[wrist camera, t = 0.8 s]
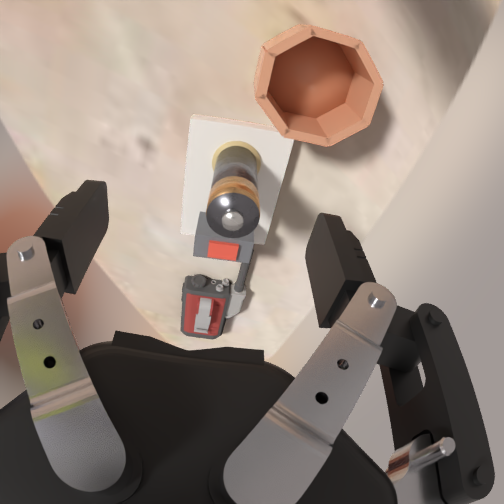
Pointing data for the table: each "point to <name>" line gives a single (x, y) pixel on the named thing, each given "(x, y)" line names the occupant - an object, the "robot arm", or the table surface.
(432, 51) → the table surface
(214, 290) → the walkie-talkie
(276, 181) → the tester
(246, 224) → the cell
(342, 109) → the cup
